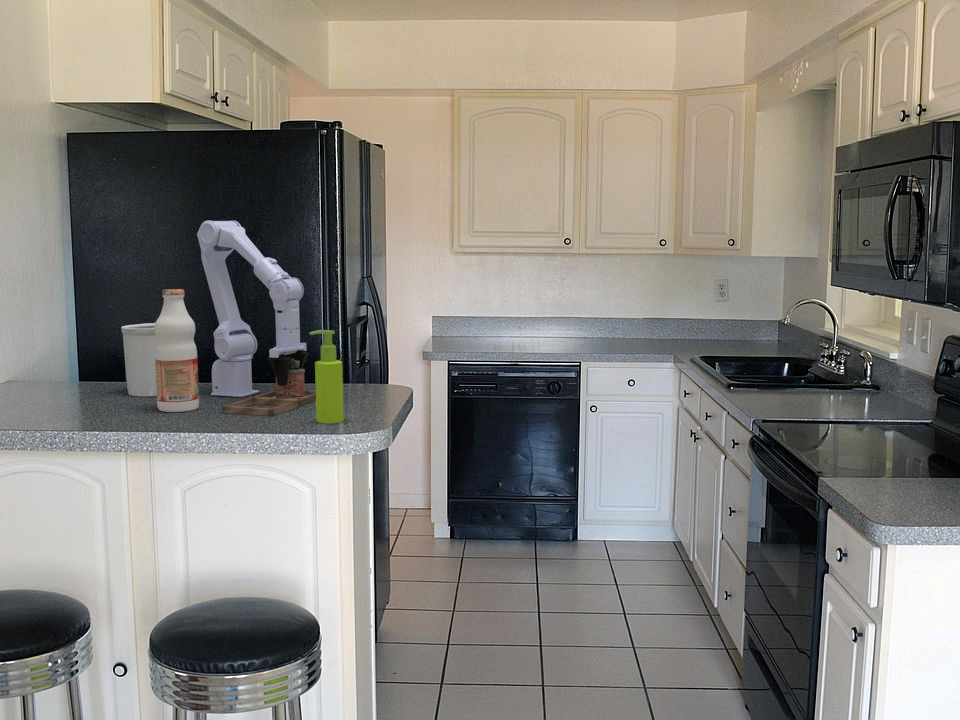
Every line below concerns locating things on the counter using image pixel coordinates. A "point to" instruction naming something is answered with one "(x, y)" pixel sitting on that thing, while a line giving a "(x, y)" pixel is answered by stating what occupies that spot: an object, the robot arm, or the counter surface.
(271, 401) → the tray
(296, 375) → the lighter
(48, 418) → the counter surface
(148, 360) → the utensil holder
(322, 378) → the soap dispenser
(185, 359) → the fruit juice
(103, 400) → the counter surface
